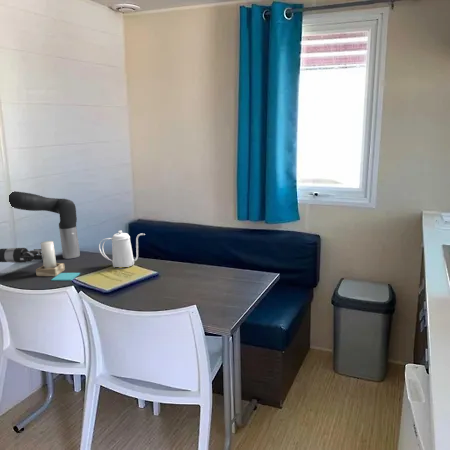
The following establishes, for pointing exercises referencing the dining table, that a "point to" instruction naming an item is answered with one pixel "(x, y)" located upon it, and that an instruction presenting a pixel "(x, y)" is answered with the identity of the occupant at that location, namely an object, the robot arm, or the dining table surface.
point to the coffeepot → (121, 250)
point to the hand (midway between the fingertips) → (46, 254)
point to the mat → (65, 277)
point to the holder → (50, 270)
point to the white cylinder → (48, 255)
